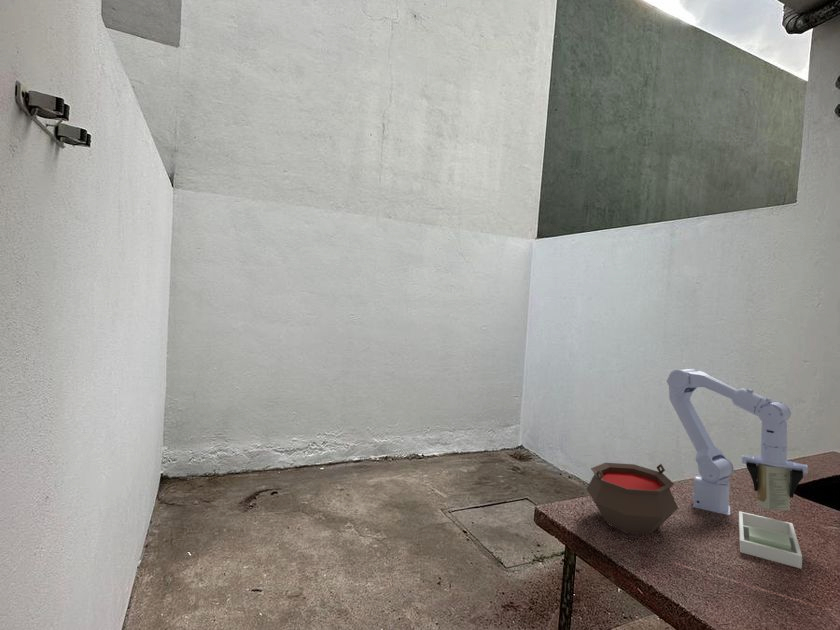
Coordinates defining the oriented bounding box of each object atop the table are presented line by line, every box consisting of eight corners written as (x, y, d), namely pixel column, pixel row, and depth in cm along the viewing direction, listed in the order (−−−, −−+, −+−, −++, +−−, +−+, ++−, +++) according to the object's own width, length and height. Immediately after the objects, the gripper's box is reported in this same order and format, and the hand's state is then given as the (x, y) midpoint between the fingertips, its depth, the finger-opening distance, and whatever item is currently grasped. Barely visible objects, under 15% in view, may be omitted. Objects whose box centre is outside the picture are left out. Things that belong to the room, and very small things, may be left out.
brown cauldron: (623, 550, 114) (625, 487, 114) (568, 508, 137) (570, 455, 137) (698, 538, 121) (700, 478, 120) (633, 500, 144) (635, 450, 143)
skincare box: (779, 504, 128) (779, 462, 128) (790, 511, 124) (791, 467, 124) (755, 503, 129) (756, 461, 129) (765, 510, 124) (766, 466, 124)
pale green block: (748, 550, 114) (749, 535, 114) (748, 540, 119) (748, 526, 119) (790, 561, 109) (791, 546, 109) (787, 550, 114) (788, 535, 114)
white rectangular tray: (739, 553, 113) (740, 540, 113) (738, 522, 130) (738, 511, 130) (801, 570, 106) (802, 556, 106) (791, 535, 123) (792, 523, 123)
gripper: (805, 446, 125) (804, 494, 125) (741, 437, 133) (740, 482, 133) (809, 452, 119) (808, 503, 119) (742, 443, 127) (742, 490, 128)
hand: (773, 493), depth 126 cm, fingers closed on skincare box, 7 cm apart
